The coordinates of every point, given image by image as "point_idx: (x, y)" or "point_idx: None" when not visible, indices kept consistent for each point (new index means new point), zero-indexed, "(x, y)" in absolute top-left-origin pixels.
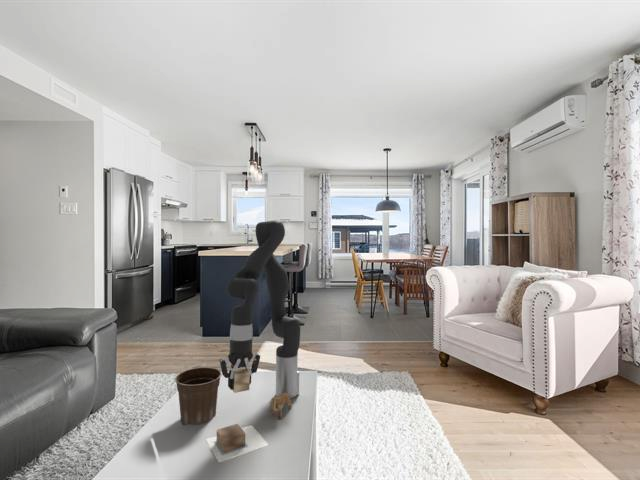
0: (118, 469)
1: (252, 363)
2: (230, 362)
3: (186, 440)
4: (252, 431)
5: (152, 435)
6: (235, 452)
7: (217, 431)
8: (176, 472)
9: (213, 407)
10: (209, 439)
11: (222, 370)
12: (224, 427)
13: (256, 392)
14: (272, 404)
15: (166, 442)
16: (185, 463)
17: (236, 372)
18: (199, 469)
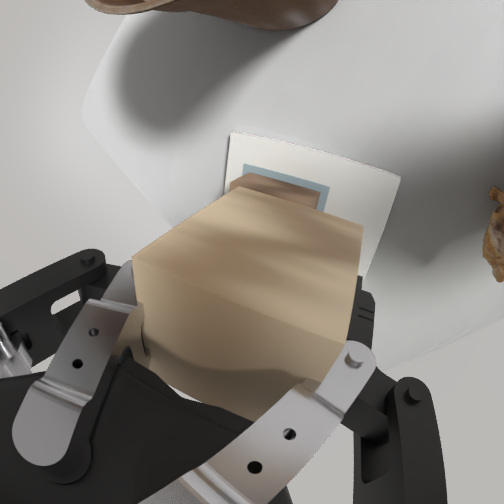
0: (89, 114)
1: (399, 463)
2: (41, 377)
3: (199, 83)
4: (374, 215)
5: (148, 15)
6: None
7: (229, 191)
8: (151, 197)
9: (299, 8)
10: (239, 141)
11: (47, 281)
12: (258, 189)
13: None
14: (487, 251)
15: (160, 63)
16: (170, 182)
17: (169, 359)
18: None
